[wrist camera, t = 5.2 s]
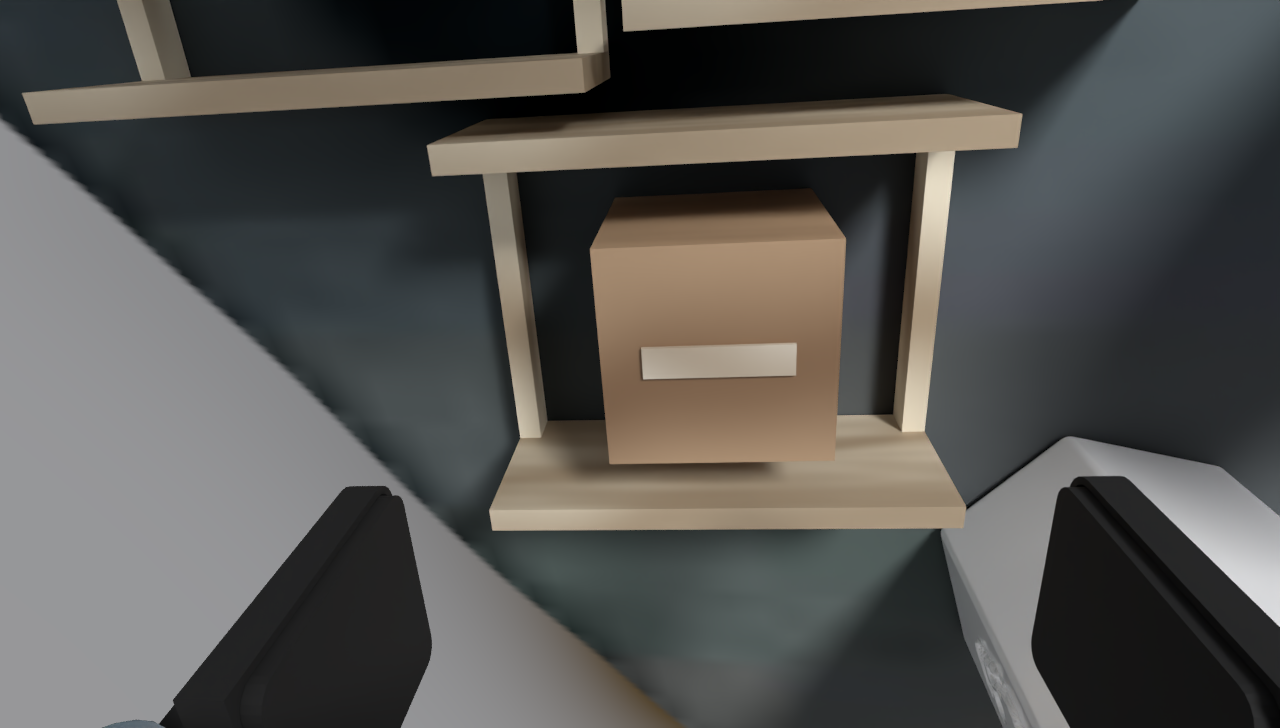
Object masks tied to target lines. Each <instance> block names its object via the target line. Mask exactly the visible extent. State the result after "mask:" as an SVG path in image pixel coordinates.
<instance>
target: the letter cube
mask: <svg viewBox="0 0 1280 728" xmlns="http://www.w3.org/2000/svg"><path fill="white" fill-rule="evenodd" d="M845 250H846V238H845V236H844V235H843V233H842V232H841V230H840V229H839V228H838V226H837V225H836V223H835V222H834V220H833V219H832V217H831V216H830V215H829V213H828V212H827V210H826V209H825V207H824V206H823V204H822V203H821V202H820V200H819V199H818V197H817V196H816V194H815V193H814V191H813V190H812V189H811V188H805V189H785V190H764V191H743V192H722V193H702V194H681V195H660V196H639V197H618V198H615V199H614V201H613V203H612V205H611V207H610V209H609V211H608V213H607V215H606V217H605V219H604V221H603V223H602V225H601V227H600V229H599V231H598V234H597V236H596V238H595V240H594V242H593V244H592V246H591V248H590V257H591V268H592V278H593V289H594V300H595V311H596V322H597V333H598V344H599V354H600V365H601V376H602V387H603V398H604V409H605V420H606V430H607V441H608V452H609V463H610V464H656V463H722V462H789V461H835V445H836V425H837V406H838V386H839V367H840V347H841V328H842V308H843V289H844V270H845Z"/></svg>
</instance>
